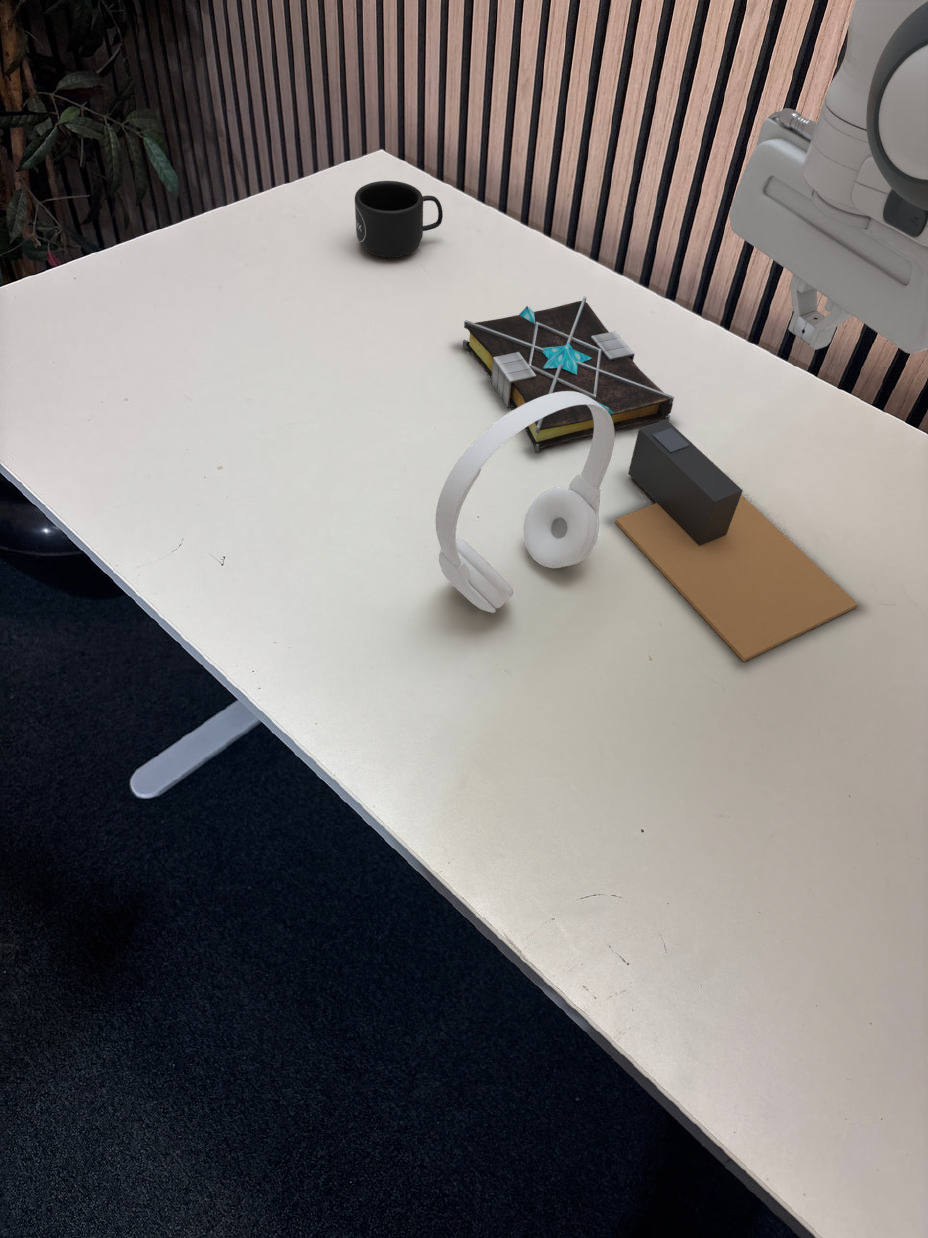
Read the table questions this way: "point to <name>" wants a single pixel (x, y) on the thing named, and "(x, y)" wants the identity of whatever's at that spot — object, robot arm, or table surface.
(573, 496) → the headphones
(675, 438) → the device
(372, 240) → the mug
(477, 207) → the table surface
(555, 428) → the book
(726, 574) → the mat
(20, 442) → the table surface
